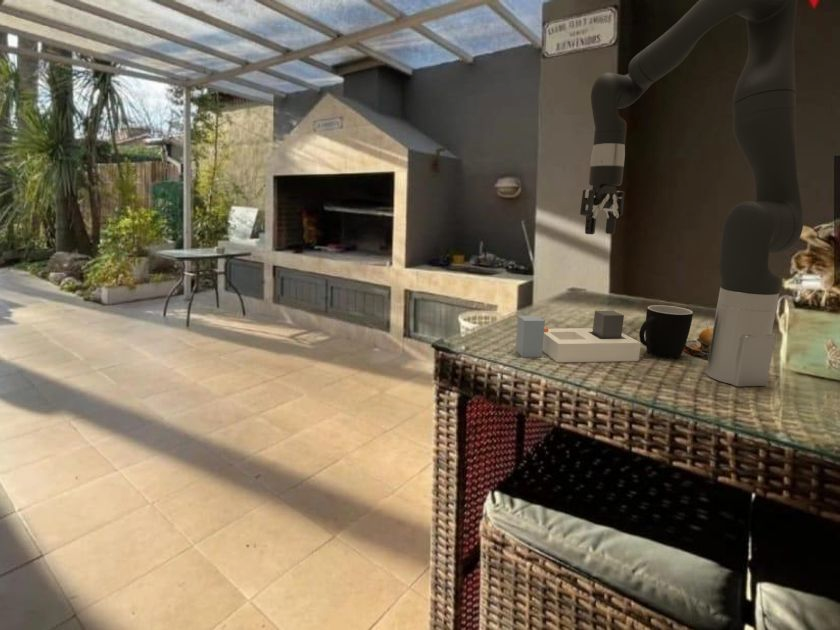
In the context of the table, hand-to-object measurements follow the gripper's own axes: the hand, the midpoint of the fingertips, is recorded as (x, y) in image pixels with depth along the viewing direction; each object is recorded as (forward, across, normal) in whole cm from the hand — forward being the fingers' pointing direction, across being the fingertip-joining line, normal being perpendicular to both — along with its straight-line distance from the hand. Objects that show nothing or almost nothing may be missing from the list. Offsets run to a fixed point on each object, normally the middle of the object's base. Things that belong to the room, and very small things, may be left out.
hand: (600, 233), depth 121 cm
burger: (+26, +7, -26) cm, 38 cm away
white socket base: (+25, -17, -10) cm, 32 cm away
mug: (+25, -4, -20) cm, 33 cm away
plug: (+25, -28, -4) cm, 38 cm away
